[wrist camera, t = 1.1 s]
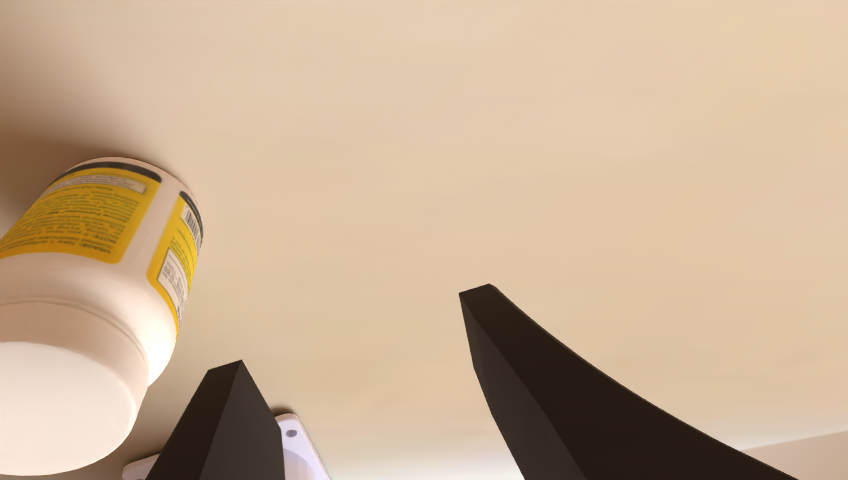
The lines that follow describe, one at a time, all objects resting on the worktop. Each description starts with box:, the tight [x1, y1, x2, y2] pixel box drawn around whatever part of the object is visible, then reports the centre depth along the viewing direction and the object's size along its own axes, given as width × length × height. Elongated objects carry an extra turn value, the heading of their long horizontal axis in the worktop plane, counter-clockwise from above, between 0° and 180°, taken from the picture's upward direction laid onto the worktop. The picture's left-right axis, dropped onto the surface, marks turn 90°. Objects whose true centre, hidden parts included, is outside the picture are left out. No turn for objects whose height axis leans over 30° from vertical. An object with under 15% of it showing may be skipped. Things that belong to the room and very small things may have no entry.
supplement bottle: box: [0, 157, 203, 476], centre depth 14 cm, size 5×5×8 cm
